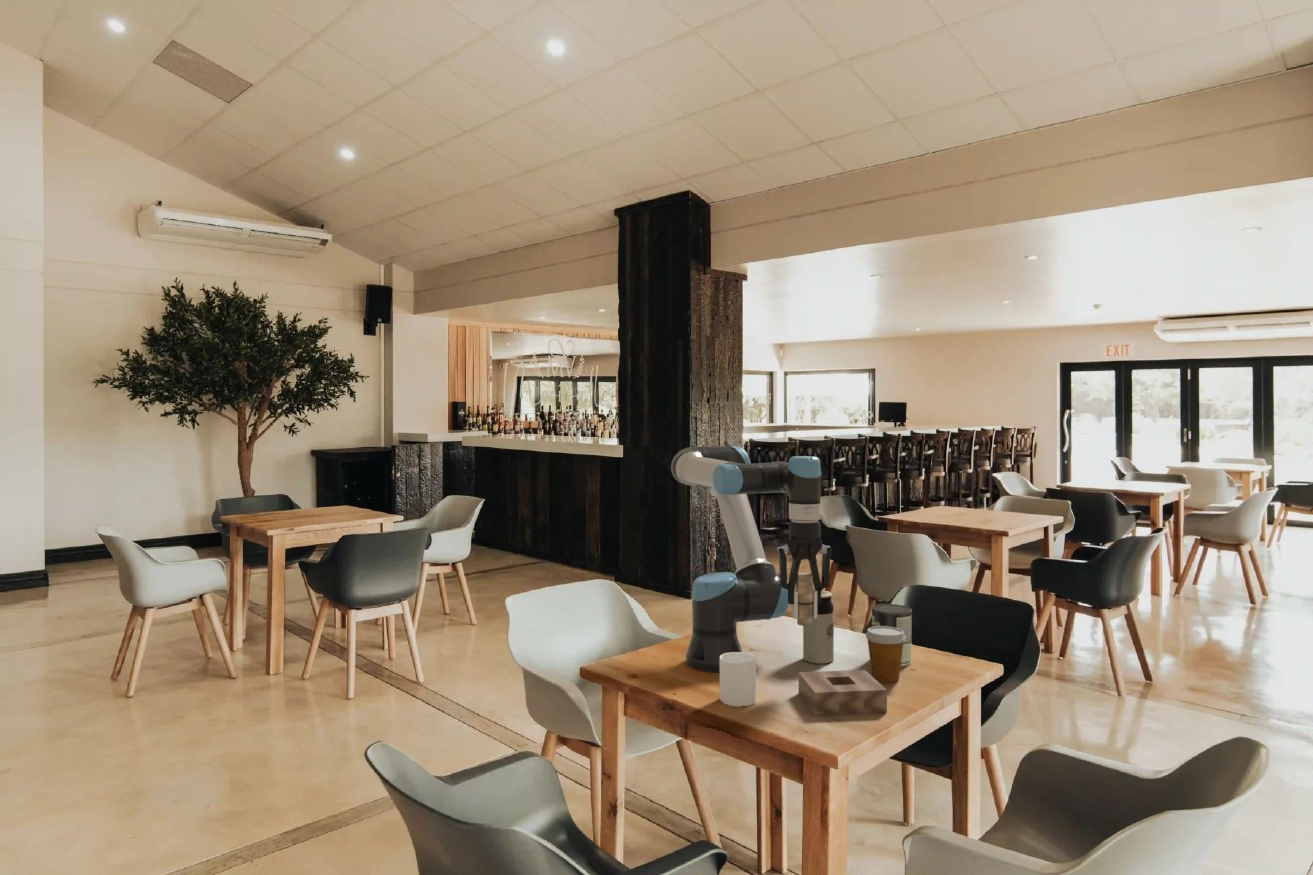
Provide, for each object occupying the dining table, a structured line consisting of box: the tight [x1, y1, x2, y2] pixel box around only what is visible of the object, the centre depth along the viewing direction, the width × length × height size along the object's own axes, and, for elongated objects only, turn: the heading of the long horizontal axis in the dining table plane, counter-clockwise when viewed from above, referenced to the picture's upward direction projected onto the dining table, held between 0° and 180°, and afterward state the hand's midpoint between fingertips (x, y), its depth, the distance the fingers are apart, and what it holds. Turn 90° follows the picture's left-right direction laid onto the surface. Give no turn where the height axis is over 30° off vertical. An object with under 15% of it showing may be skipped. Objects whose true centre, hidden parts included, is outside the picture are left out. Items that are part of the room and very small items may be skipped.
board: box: [797, 669, 888, 716], centre depth 180 cm, size 16×14×5 cm
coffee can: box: [871, 603, 913, 668], centre depth 211 cm, size 10×10×14 cm
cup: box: [719, 651, 757, 707], centre depth 184 cm, size 8×12×10 cm
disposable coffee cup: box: [865, 626, 906, 684], centre depth 197 cm, size 10×10×12 cm
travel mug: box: [802, 590, 835, 665], centre depth 213 cm, size 8×8×18 cm
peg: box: [795, 572, 814, 627], centre depth 192 cm, size 4×4×12 cm
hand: (804, 616), depth 192 cm, fingers closed on peg, 4 cm apart
